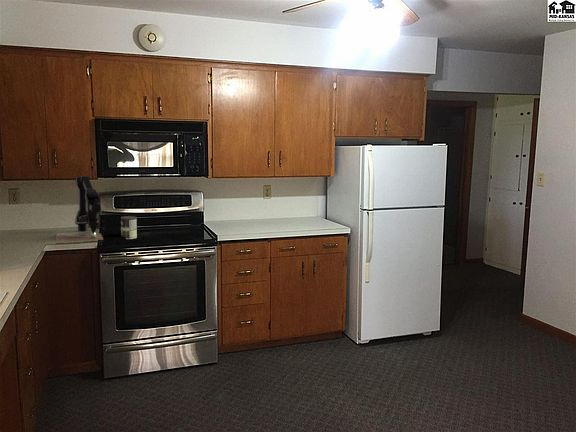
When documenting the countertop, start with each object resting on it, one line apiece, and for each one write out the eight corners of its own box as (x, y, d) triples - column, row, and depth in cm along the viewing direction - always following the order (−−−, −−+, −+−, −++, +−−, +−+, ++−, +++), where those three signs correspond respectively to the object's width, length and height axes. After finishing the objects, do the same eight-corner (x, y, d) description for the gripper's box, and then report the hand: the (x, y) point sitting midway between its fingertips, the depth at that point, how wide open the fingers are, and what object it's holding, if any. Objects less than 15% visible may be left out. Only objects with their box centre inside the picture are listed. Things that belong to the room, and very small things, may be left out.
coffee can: (121, 239, 330) (120, 218, 328) (120, 236, 339) (120, 216, 337) (137, 238, 334) (137, 218, 331) (136, 235, 343) (136, 215, 341)
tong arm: (63, 237, 325) (63, 231, 324) (66, 236, 328) (65, 230, 328) (95, 238, 323) (95, 233, 323) (97, 237, 327) (97, 232, 326)
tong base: (57, 236, 328) (57, 233, 328) (89, 234, 336) (89, 231, 336) (57, 237, 324) (57, 234, 323) (90, 235, 332) (90, 233, 332)
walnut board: (55, 238, 328) (55, 236, 328) (100, 235, 340) (100, 233, 340) (55, 244, 310) (55, 241, 310) (103, 241, 322) (103, 239, 322)
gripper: (78, 209, 329) (79, 232, 332) (79, 213, 313) (80, 237, 315) (96, 208, 334) (97, 231, 337) (98, 212, 318) (99, 236, 320)
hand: (93, 234), depth 327 cm, fingers closed
